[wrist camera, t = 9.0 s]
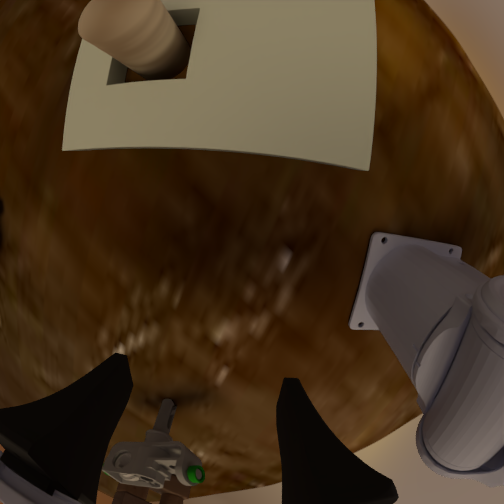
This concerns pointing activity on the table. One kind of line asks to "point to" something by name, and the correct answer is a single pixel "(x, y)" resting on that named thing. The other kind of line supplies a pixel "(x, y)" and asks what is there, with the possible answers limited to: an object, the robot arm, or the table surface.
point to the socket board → (242, 85)
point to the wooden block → (173, 492)
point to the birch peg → (136, 36)
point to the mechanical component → (154, 457)
